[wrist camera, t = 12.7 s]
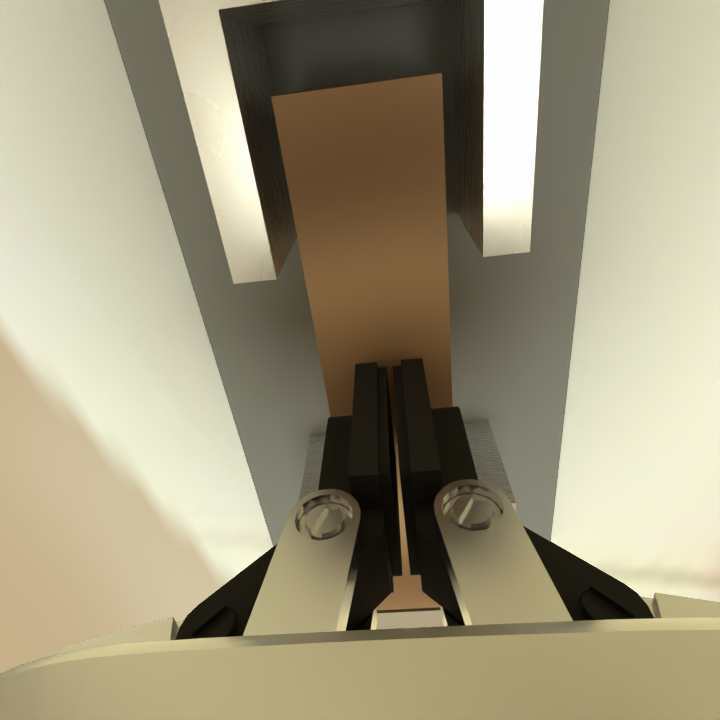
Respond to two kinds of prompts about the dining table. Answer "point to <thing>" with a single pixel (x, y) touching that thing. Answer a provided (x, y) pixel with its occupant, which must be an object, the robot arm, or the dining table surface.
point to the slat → (373, 241)
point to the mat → (465, 262)
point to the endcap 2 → (487, 470)
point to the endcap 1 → (260, 136)
